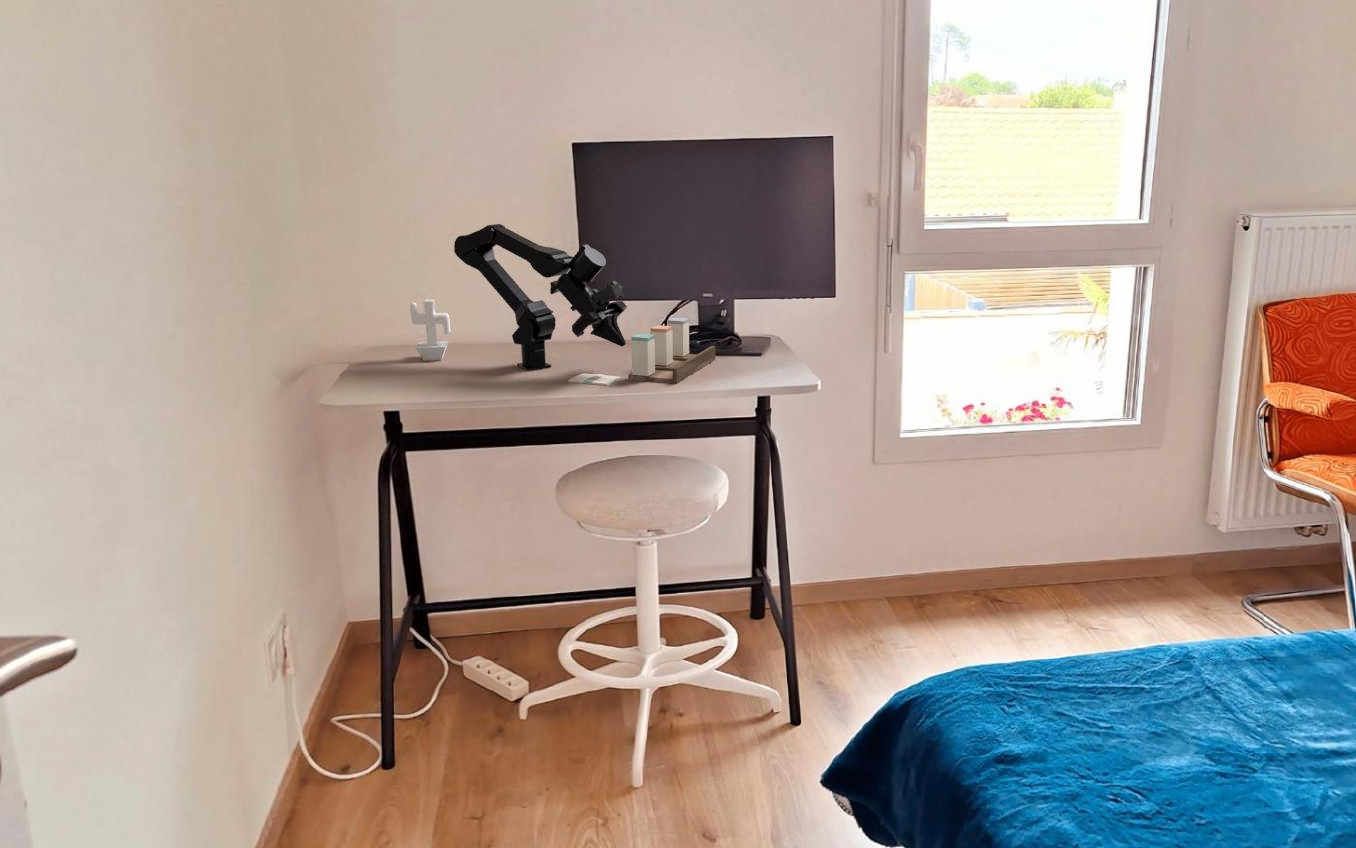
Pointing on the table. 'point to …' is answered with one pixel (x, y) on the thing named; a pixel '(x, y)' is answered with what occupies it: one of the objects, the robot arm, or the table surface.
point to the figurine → (430, 330)
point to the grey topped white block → (680, 336)
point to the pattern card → (594, 379)
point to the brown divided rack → (679, 367)
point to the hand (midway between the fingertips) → (624, 345)
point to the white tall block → (643, 354)
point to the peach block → (663, 344)
